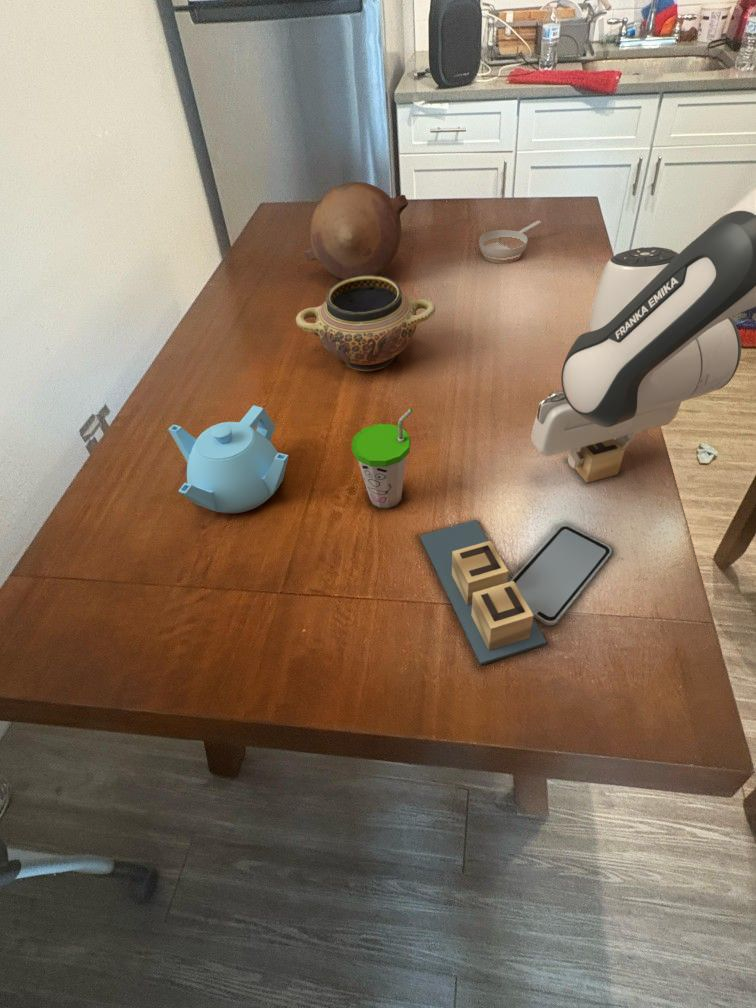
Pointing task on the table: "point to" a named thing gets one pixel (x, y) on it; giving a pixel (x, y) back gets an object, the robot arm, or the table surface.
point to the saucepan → (503, 251)
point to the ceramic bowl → (365, 321)
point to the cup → (383, 460)
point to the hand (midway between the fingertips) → (595, 459)
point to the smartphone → (560, 572)
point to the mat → (441, 558)
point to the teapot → (232, 463)
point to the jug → (356, 230)
